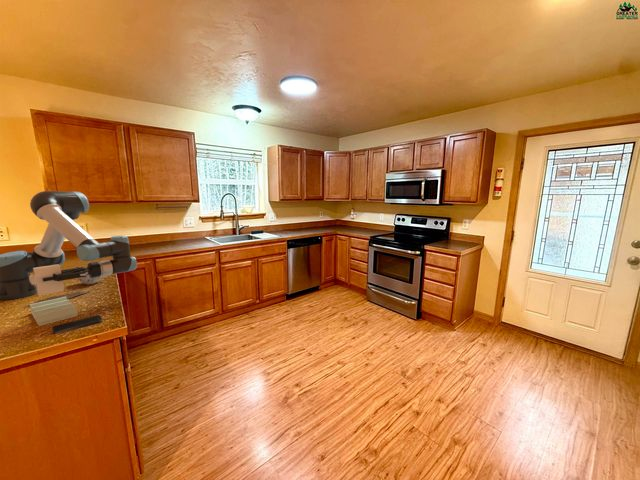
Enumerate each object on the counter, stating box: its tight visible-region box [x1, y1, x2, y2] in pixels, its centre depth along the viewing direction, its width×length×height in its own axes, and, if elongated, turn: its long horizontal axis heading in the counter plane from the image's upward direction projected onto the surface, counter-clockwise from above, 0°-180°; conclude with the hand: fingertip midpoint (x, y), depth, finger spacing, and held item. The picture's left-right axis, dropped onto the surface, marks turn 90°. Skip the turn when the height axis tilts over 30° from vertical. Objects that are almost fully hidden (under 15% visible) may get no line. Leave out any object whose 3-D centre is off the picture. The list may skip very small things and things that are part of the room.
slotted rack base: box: [29, 297, 78, 327], centre depth 118 cm, size 20×12×4 cm, turn 54°
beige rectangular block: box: [33, 264, 65, 297], centre depth 115 cm, size 4×8×12 cm, turn 144°
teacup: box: [77, 275, 107, 285], centre depth 162 cm, size 15×12×8 cm
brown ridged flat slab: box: [21, 290, 91, 309], centre depth 136 cm, size 26×11×1 cm, turn 147°
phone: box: [51, 314, 103, 335], centre depth 109 cm, size 8×1×15 cm
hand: (30, 280), depth 111 cm, fingers closed on beige rectangular block, 3 cm apart
